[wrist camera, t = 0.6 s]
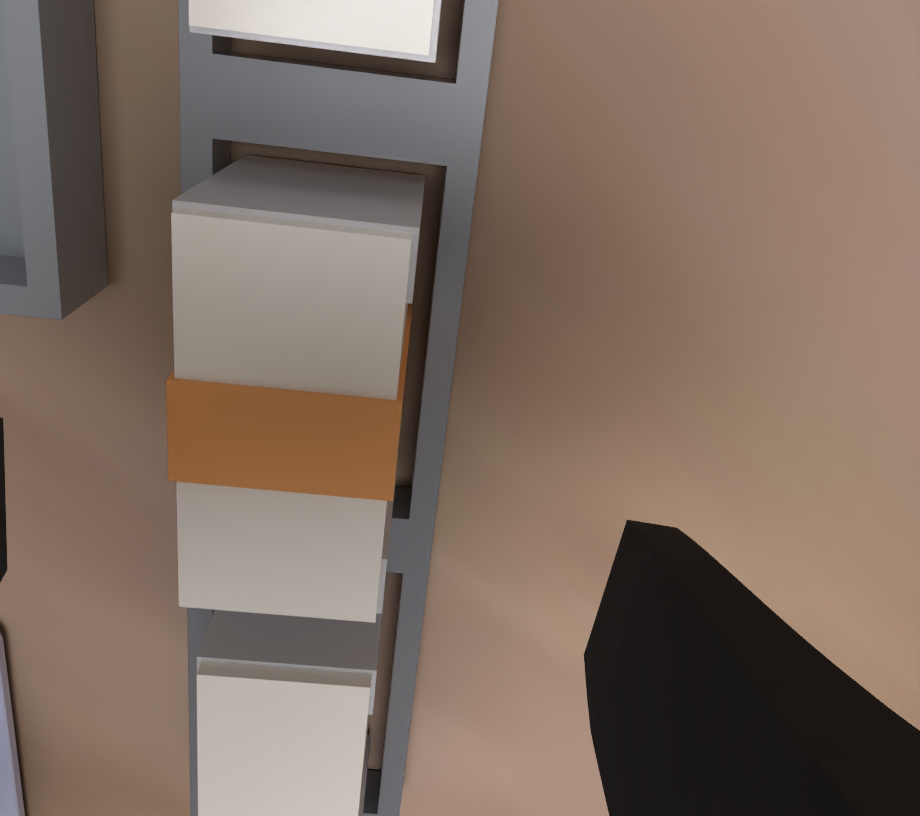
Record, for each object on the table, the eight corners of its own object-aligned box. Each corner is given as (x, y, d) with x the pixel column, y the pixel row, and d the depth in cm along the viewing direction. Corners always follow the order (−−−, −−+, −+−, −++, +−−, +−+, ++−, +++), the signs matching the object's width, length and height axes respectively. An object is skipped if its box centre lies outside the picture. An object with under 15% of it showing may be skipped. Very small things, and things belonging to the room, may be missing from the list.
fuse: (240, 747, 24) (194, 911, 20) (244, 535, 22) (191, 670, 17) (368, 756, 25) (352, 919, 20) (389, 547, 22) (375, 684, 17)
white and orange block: (244, 457, 21) (171, 613, 15) (249, 152, 18) (161, 206, 12) (396, 471, 21) (380, 631, 15) (425, 172, 18) (418, 235, 12)
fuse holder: (204, 774, 25) (190, 817, 23) (197, -537, 13) (169, -602, 12) (399, 787, 25) (397, 831, 24) (551, -477, 14) (563, -533, 12)
